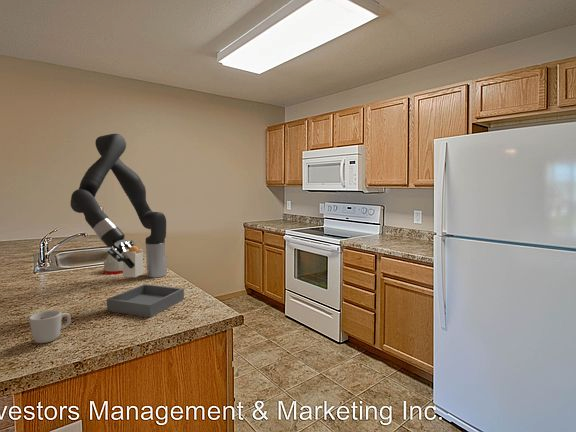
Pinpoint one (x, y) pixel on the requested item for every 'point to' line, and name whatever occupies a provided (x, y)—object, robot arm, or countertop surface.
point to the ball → (133, 249)
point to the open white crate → (137, 260)
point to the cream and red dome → (113, 266)
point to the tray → (145, 300)
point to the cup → (47, 325)
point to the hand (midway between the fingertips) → (137, 264)
